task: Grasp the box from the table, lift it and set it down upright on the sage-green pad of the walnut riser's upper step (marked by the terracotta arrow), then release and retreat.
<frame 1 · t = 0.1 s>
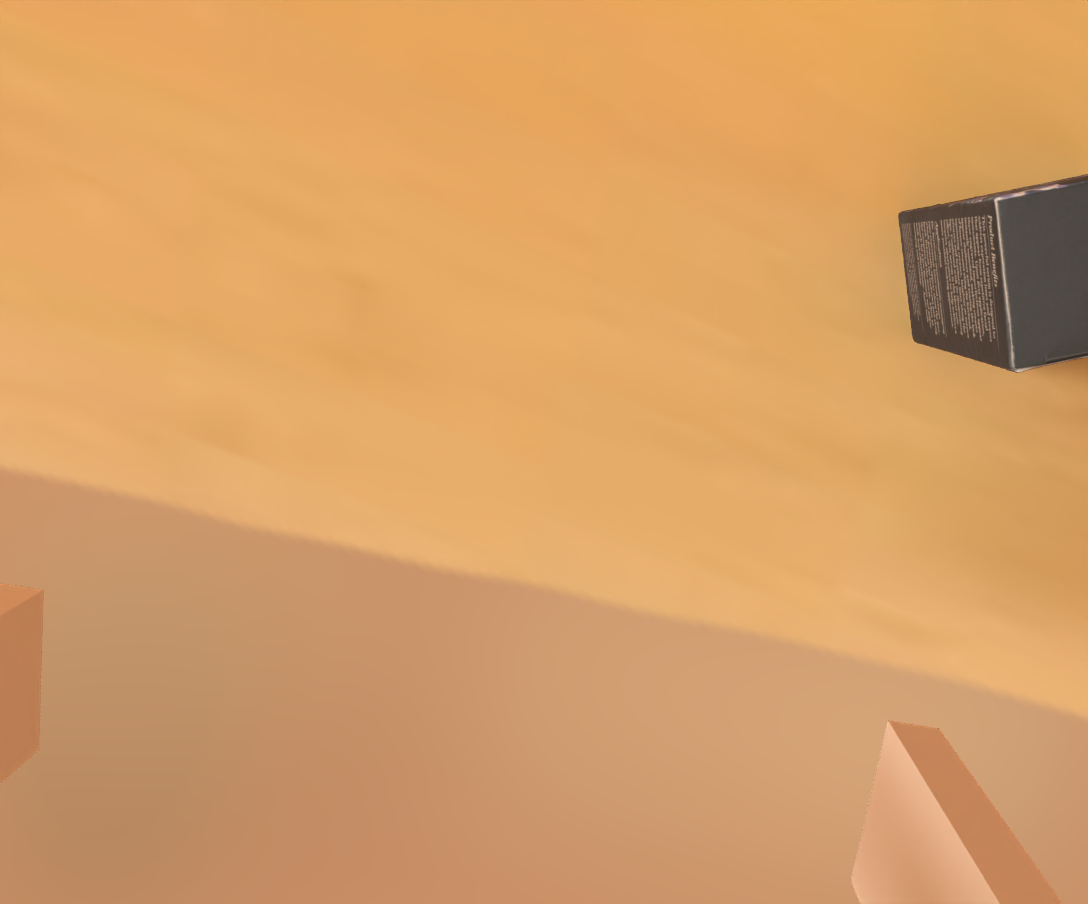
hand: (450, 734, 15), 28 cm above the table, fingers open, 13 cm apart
box: (995, 260, 40), on the table
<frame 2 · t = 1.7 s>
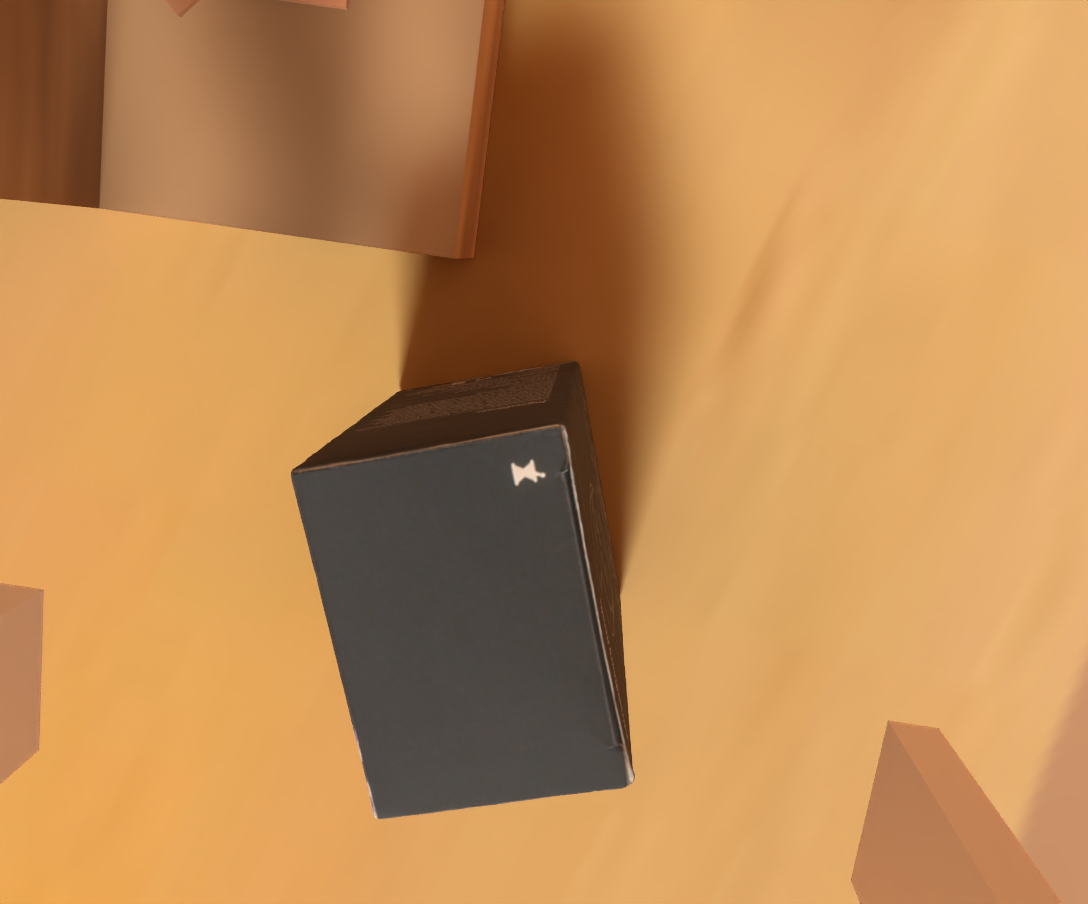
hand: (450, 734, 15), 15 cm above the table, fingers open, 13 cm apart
box: (511, 498, 29), on the table
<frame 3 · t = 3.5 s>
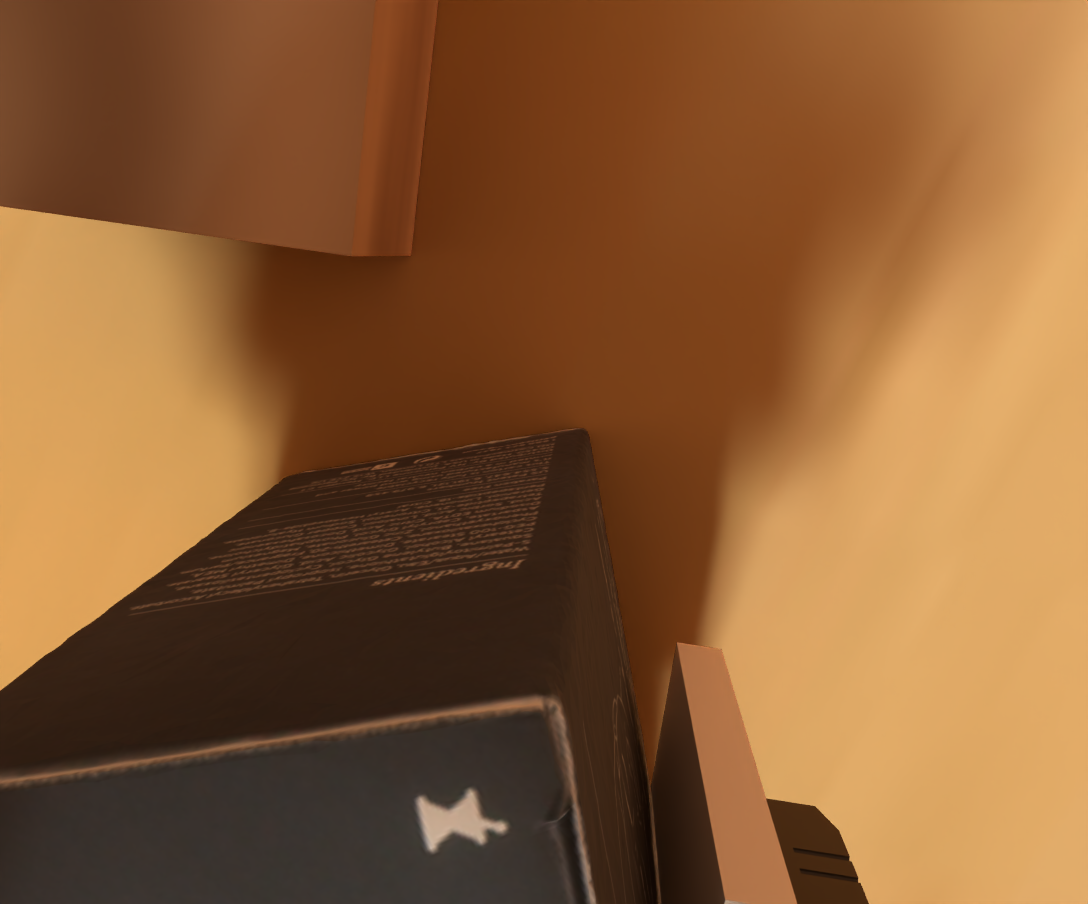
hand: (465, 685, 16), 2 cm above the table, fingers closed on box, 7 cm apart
box: (477, 644, 18), on the table, touching gripper
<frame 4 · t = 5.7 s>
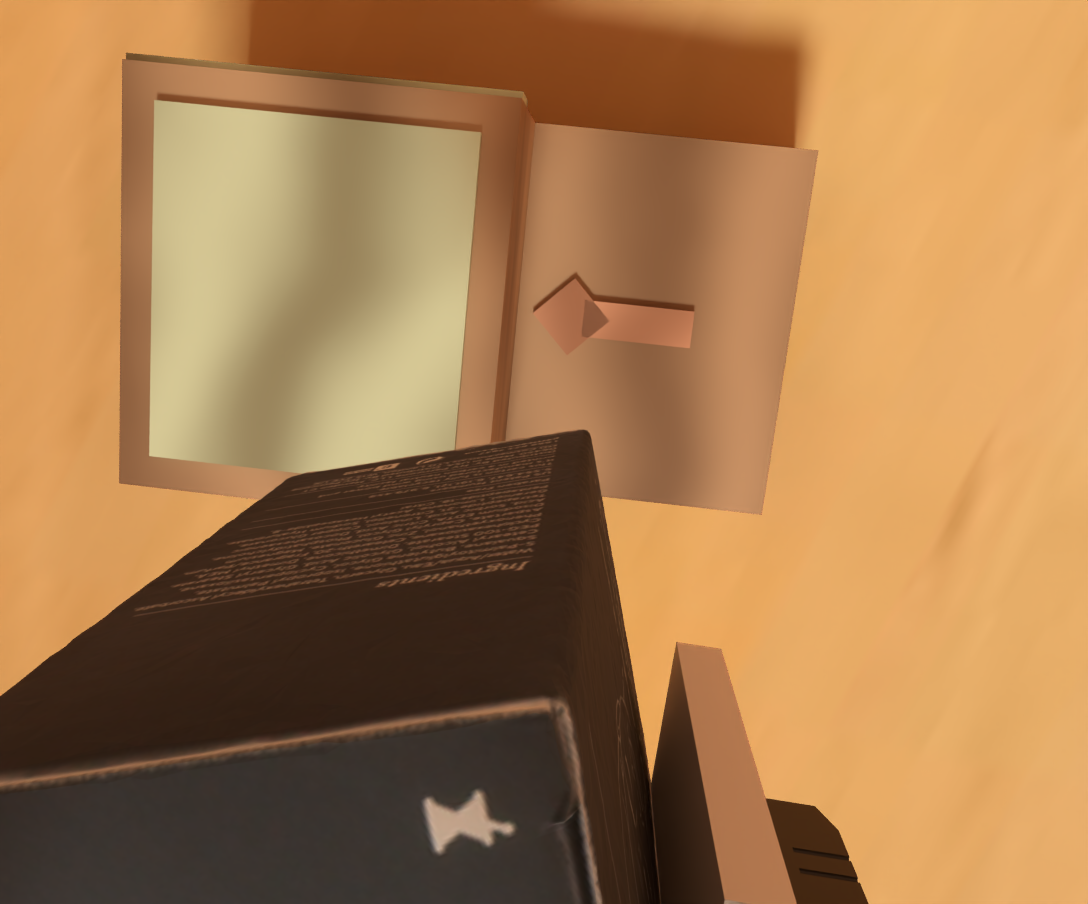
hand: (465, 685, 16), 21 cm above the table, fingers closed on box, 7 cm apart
stand: (500, 301, 36), on the table
box: (479, 644, 18), point 19 cm above the table, touching gripper
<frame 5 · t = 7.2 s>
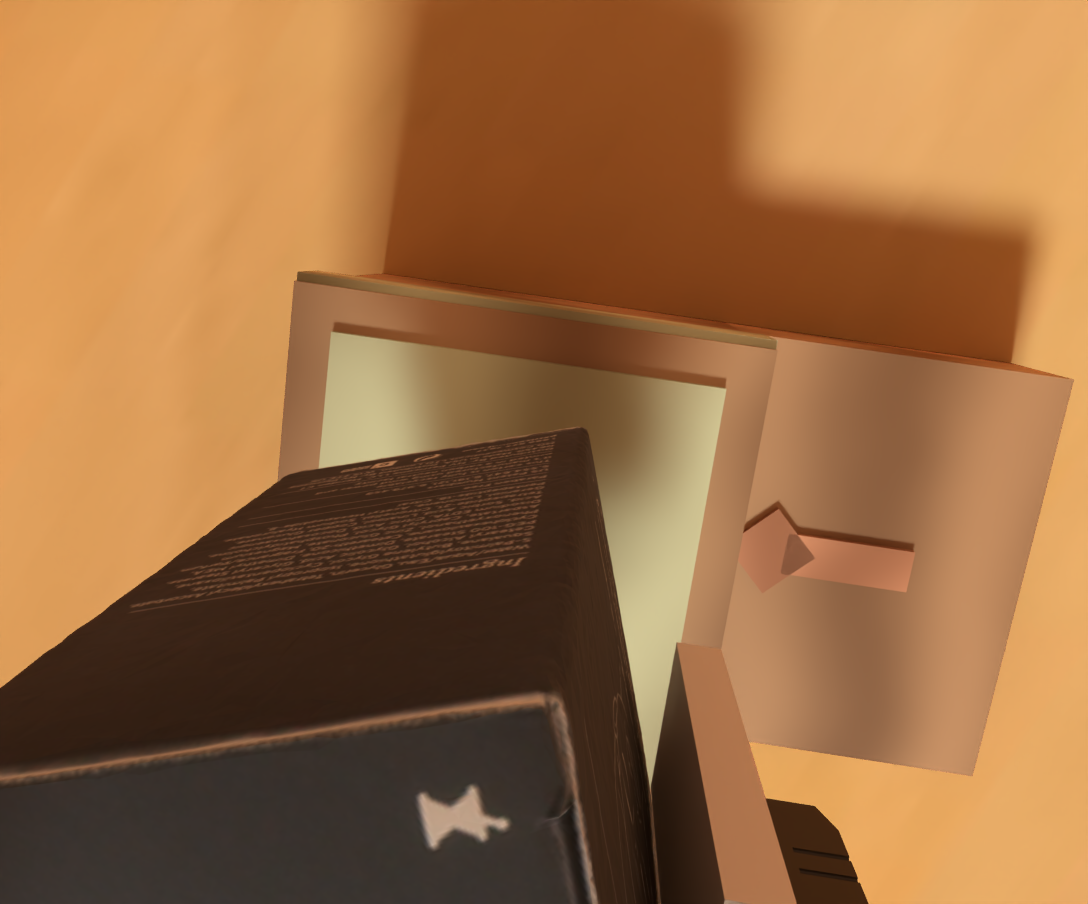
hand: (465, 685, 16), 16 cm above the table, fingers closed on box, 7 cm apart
stand: (663, 500, 31), on the table
box: (477, 642, 18), point 14 cm above the table, touching gripper
when the fingers open (12 cm above the table, at t = 8.1 s): box drops 1 cm, resting on stand.
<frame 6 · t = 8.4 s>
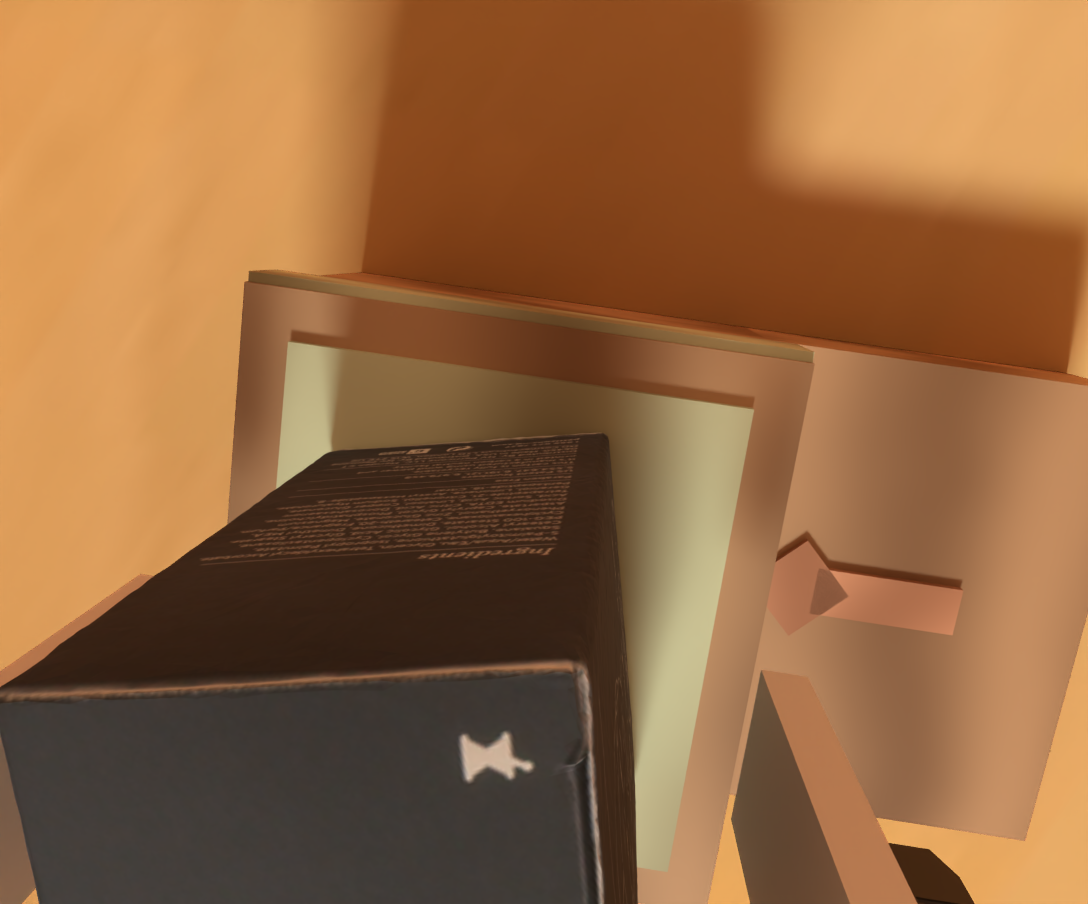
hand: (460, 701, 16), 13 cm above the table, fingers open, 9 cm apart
stand: (674, 525, 28), on the table
box: (486, 622, 19), point 9 cm above the table, touching stand
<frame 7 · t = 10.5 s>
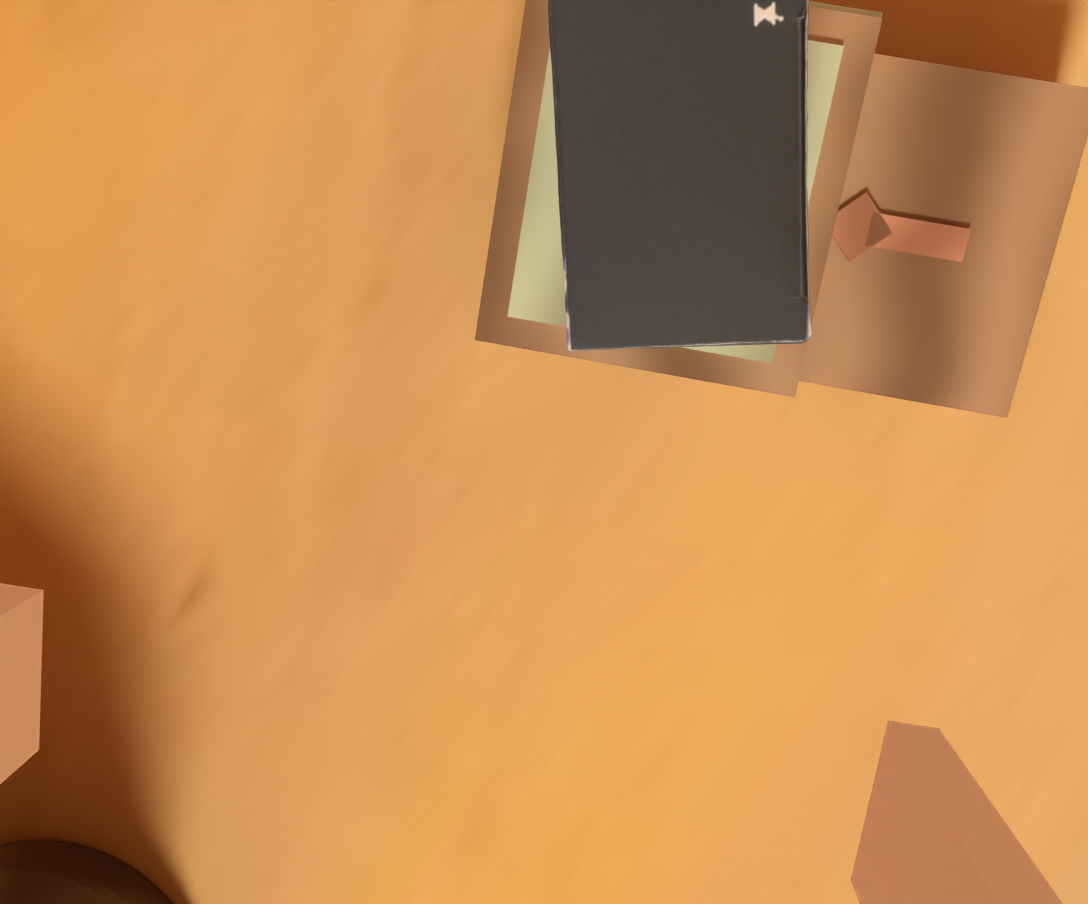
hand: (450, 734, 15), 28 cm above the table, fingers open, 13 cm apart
stand: (767, 216, 40), on the table
box: (666, 192, 31), point 9 cm above the table, touching stand
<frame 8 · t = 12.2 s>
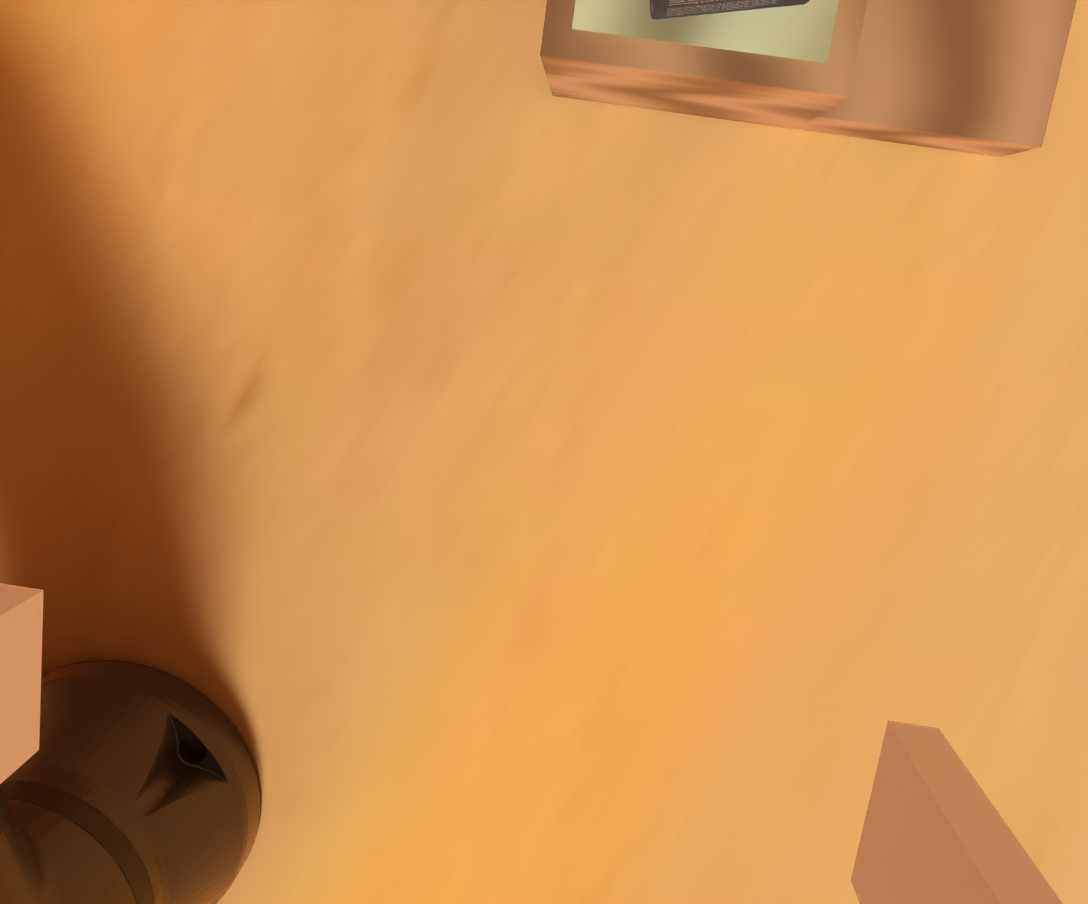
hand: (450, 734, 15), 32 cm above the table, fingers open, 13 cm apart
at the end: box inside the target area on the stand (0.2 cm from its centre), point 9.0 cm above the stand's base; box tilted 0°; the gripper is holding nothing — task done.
